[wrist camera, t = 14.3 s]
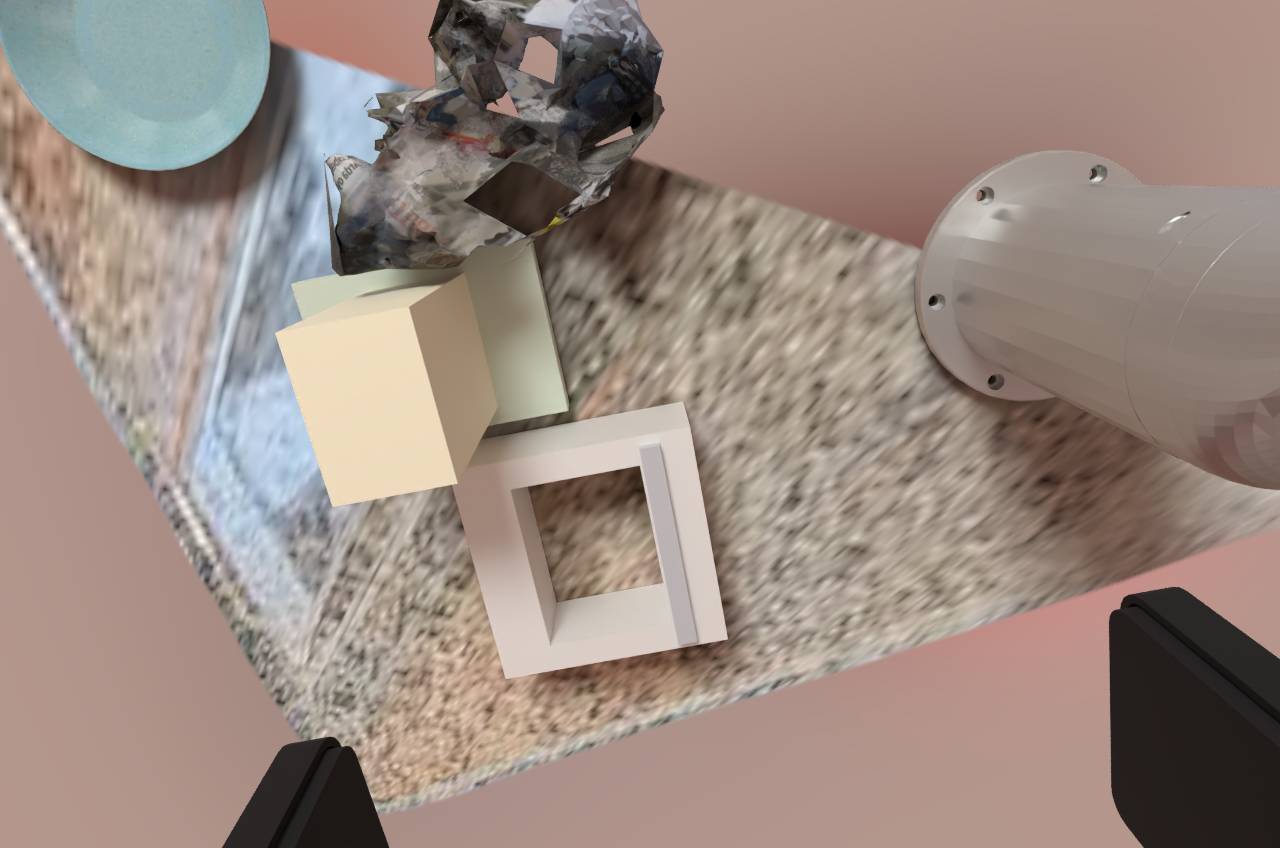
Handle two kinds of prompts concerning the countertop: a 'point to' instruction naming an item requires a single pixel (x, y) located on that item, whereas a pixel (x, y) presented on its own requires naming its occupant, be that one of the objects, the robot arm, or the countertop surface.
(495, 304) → the pad
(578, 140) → the foil
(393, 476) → the cream rectangular block
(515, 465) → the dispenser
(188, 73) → the saucer
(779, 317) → the countertop surface
